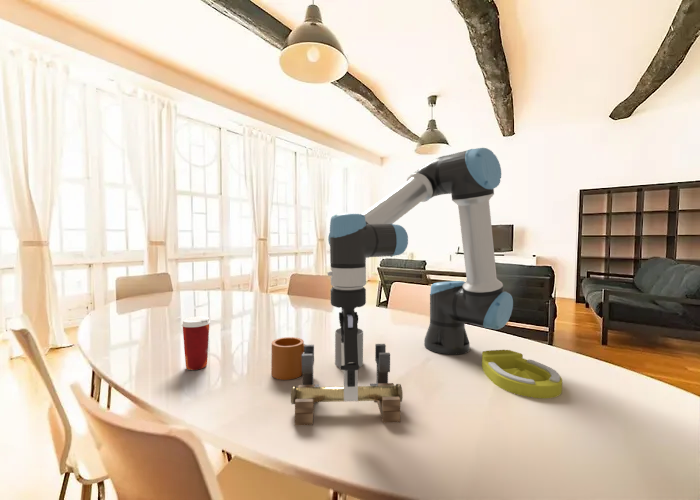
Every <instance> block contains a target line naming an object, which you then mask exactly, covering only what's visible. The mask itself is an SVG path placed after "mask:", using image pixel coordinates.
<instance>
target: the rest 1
mask: <svg viewBox="0 0 700 500" xmlns="http://www.w3.org/2000/svg"><path fill="white" fill-rule="evenodd" d="M315 385H316V384H313V385H303V384H298V386H297V387H315ZM315 403H316V402H313V399H295V404H294V426H295V427H296V426H297V427H298V426H313V425H314V424H313V423H314V415H315V405H316V404H315Z"/></svg>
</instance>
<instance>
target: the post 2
mask: <svg viewBox="0 0 700 500" xmlns="http://www.w3.org/2000/svg"><path fill="white" fill-rule="evenodd" d="M386 347H387V345H386V343H375V351H374V357H375V359H374V361H375V363H376V383H369V386H378V383H389V373H390V372H391V352H386V350H387V348H386Z"/></svg>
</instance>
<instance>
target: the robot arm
mask: <svg viewBox="0 0 700 500" xmlns="http://www.w3.org/2000/svg"><path fill="white" fill-rule="evenodd" d="M501 178H502V168H501V164H500V161H499V159H498V157H497V155H496V154H495V153H494V152H493V151H492V150H491V149H489V148H487V147H477V148H471V149H468V150H463V151H460V152H455V153H451V154H448V155H442V156H439V157H437V158H435V159H433V160H431V161H429V162H428V163H426V164H424V165H423V166H421V167H420V168H418V169H417V170H416V171H414V172H413V173H411V174H410V175H409V176H407V178H406V182H405V183H403V184H402V185H400V186H399V187H397V188H396V189H395V190H393V191H392V192H390V193H389V194H387V195H386V196H385V197H382V199H381V200H379V201H377V202H376V203H374V204H373V205H372V206H370V207H369V208H367V210H365V211H364V212H362V213H336V214H334V215H332V216H331V218H330V222H329V223H330V224H329V233H328V239H327V240H328V244H329V257H330V258H329V259H330V270H329V271H327V276H329V277H330V285H331V286H332V287H331V288H330V305H331V306H333V307H334V308H338V309H339V308H341V312H338V320H339V321H338V322H339V326H340V328H341V337H342V338H341V341H342V342H344V343H341V362H342V366H341V368H340V370H341V372H343V387H344V402H359V401H358V386H359V382H358V381H359V372H358V371H359V368H360V367H359V365H358V347H357V334H358V328H359V327H358V326H359V325H358V324H359V315H358V312H357V311H355V309H356V308H361V307H364V306H365V305H366V303H367V301H366V300H367V298H366V297H367V290H366V287H364V286H365V285H367V268H366V267H367V264H366V263H367V262H366V261H367V258H368V259H369V258H380V257H382V258H384V257H390V258H392V257H394V256H396V257H397V256H400V255H402V254H403V253H405V251H406V250H407V248H408V245H409V236H408V232H407V231H406V228H404V226H402V225H400V224H396V222H397V221H398V220H399V219H401V218H402V217H403V216H404V215H406V214H407V213H408V212H410V211H411V210H412V209H414V208H415V207H416V206H418V205H419V204H421V202H422V203H424V202H428V201H429V200H430V199H432V198H435V197H437V196H442V195H451V201H452V202H453V203H454V204H456V205H457V206H458V215H459V216H458V217H459V223H460V224H459V225H460V232H461V233H460V234H461V242H462V249H463V250H462V251H463V260H464V267H465V275H466V280H465V281H462V280H453V281H438V282H434V283H432V284H431V285H430V294H429V326H428V328H427V331H426V333H425V336H424V339H423V340H424V347H425V348H426V349H427V350H429V351H432V352H434V353H437V354H443V355H463V354H466V353H469V351H470V347H471V345H470V344H471V343H470V341H469V337H468V333H467V330H466V327H465V324H469V325H470V324H471V325H474V326H479V327H482V328H484V329H492V330H501V329H502V328H503V327H505V326H506V325H507V323H508V322H509V320H510V317H511V316H512V312H513V309H514V300H513V296H512V294H511V293H509V292H507V291H504V283H503V282H502V281H500V279H498V278H497V270H496V269H497V268H496V259H495V256H496V255H495V250H494V249H495V247H494V239H493V238H494V237H493V227H492V216H491V208H490V200H491V199H492V197H493V196H494V195H495V189H496V188H498V186H499V185H500V184H501ZM353 362H354V363H353Z"/></svg>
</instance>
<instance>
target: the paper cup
mask: <svg viewBox="0 0 700 500" xmlns="http://www.w3.org/2000/svg"><path fill="white" fill-rule="evenodd" d="M210 324H211V320H210V317H209V316H203V315H202V316H200V315H199V316H198V315H197V316H192V317H191V316H190V317H187V318H185V319H183V320H182V323H181V327H182V336H183V348H184V361H185V368H186V370H189V371H197V370H201V369H203V368H206V367H207V366H208V358H209V357H208V354H209V335H210Z"/></svg>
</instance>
